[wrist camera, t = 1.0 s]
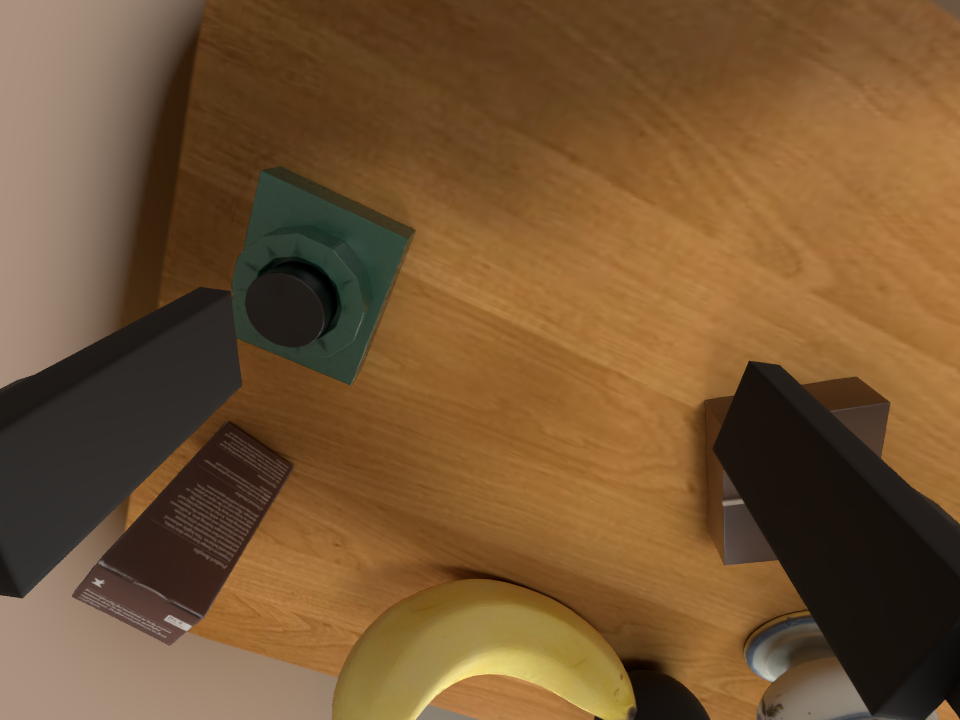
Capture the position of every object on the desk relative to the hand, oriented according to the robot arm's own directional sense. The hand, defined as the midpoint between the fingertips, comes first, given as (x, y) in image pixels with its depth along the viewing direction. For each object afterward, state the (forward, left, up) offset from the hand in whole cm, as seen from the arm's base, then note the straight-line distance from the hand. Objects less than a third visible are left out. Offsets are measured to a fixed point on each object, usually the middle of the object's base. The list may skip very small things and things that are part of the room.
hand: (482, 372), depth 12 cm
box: (+12, -22, -17) cm, 30 cm away
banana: (+30, -6, -17) cm, 34 cm away
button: (0, -11, -13) cm, 17 cm away
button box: (0, -11, -16) cm, 20 cm away
